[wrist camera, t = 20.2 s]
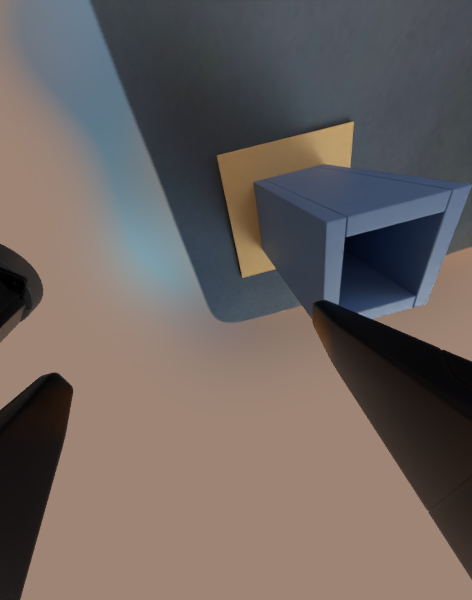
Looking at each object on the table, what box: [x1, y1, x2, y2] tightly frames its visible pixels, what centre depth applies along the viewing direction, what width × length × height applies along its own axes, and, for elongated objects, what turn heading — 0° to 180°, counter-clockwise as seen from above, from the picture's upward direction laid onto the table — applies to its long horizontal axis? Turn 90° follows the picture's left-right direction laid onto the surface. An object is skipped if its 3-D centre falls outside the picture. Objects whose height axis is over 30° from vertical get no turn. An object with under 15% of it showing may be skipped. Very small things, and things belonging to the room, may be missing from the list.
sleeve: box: [253, 164, 472, 319], centre depth 14 cm, size 6×6×11 cm
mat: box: [217, 122, 354, 278], centre depth 19 cm, size 10×10×1 cm
